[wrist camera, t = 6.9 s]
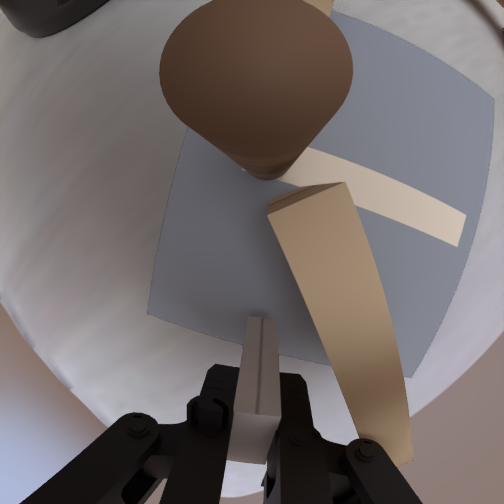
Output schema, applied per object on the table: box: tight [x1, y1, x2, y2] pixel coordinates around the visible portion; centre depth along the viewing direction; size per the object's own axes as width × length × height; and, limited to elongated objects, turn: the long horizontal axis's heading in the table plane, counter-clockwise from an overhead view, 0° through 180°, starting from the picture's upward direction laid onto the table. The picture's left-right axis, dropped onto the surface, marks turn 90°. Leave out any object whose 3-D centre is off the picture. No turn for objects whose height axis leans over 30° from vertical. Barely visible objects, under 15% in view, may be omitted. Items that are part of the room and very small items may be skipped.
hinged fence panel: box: [267, 182, 413, 468], centre depth 10 cm, size 10×2×8 cm, turn 25°
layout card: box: [147, 11, 494, 378], centre depth 13 cm, size 20×18×1 cm
